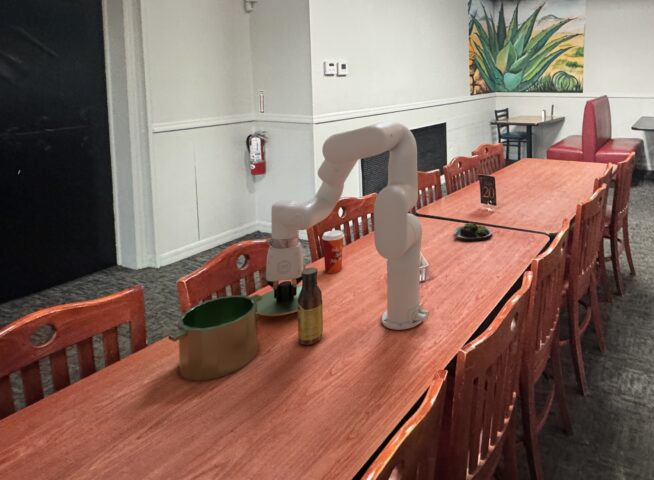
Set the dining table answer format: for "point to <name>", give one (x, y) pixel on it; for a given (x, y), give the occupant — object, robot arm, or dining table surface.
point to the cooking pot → (217, 336)
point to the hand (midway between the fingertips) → (285, 298)
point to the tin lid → (284, 304)
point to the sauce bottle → (310, 308)
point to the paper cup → (333, 250)
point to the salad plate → (472, 232)
